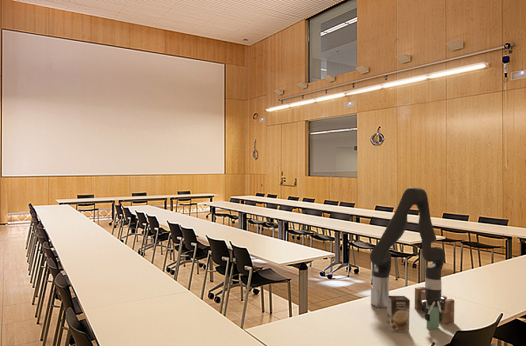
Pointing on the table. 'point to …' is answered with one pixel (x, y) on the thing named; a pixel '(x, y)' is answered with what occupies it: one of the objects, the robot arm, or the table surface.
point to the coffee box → (398, 313)
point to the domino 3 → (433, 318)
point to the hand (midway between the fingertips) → (432, 319)
